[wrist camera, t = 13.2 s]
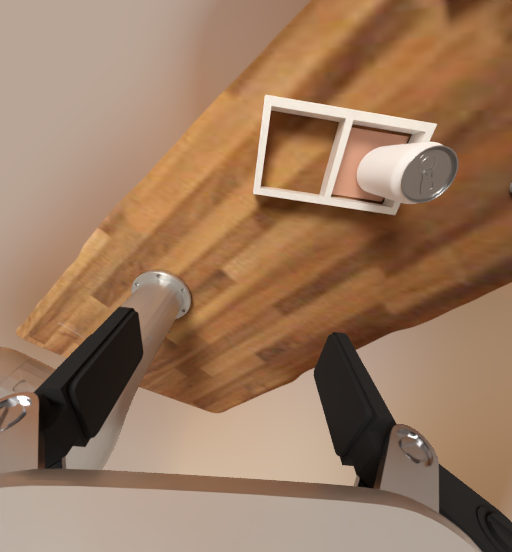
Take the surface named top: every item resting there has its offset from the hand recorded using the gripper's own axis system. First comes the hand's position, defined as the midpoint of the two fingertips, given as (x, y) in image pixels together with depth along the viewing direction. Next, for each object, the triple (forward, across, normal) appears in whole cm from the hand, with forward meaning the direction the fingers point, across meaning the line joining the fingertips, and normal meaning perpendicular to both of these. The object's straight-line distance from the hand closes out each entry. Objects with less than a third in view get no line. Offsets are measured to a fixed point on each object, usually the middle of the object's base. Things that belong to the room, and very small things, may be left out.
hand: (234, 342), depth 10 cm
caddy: (+30, -12, -10) cm, 33 cm away
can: (+29, -19, -10) cm, 36 cm away
